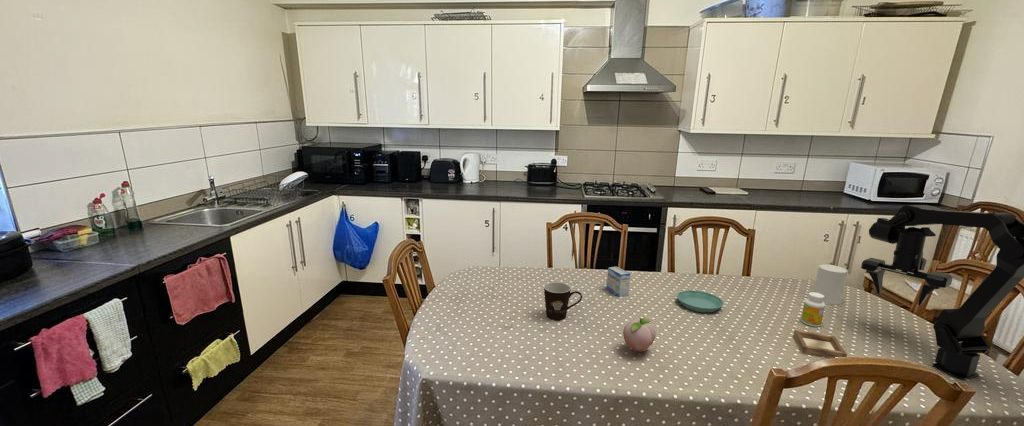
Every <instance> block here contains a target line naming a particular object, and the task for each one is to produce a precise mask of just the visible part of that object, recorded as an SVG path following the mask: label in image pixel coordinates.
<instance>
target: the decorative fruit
mask: <svg viewBox="0 0 1024 426" xmlns="http://www.w3.org/2000/svg"><path fill="white" fill-rule="evenodd" d="M651 322H652V320H651V319H649V318H648V317H640V319H637V318H635V319H632V320H630V321H628V322H627V323H626V324H625V325H624V327H623V329H622V335H623V340H624V342H625V343H626V345H627V347H628V348H630V349H631V350H633V351H636V352H639V353H640V352H644V351H646V350H648V349H649V348H650V346H652V345H653V343H654V341H655V339H656V338H657V331H656V328H655V327H654V325H653V324H652V323H651Z"/></svg>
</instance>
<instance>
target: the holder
mask: <svg viewBox="0 0 1024 426" xmlns="http://www.w3.org/2000/svg"><path fill="white" fill-rule="evenodd" d="M792 336H793V338H794V340H795V342H796V344H797V345H798V346H797V347H799V349H800V351H801V354H804V355H810V356H817V357H823V358H827V359H833V358H835V357H846V358H847V356H848V353H847V352H846V350H845V349H844V347H843V346H842V345H841V344H840V342H839V341H838V339H837V337H836V336H834V335H829V334H821V333H815V332H809V331H804V330H803V331H802V330H798V329H797V330H796V329H794V331H793V335H792Z"/></svg>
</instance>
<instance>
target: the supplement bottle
mask: <svg viewBox="0 0 1024 426" xmlns="http://www.w3.org/2000/svg"><path fill="white" fill-rule="evenodd" d="M823 300H824V295H822V294H820V293H816V292H814V291H811V292H809V293H808V296H807V298H806V299H805V300H804V302H803V307H802V313H801V318H800V320H801V322H802V323H803V324H804V325H807V326H810V327H815V328H817V327H821V326H822V323H823V319H824V313H825V309H826V303H824V302H823Z"/></svg>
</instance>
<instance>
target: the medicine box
mask: <svg viewBox="0 0 1024 426" xmlns="http://www.w3.org/2000/svg"><path fill="white" fill-rule="evenodd" d="M606 275H607V276H606V287H605V289H606V290H607V291H608V292H610V293H612V294H614V295H616V296H617V297H619V298H621V297H626V296H629V295H630V284H631V273H630V272H628V271H626V270H625V269H622V268H620V267H618V266H611V267H608V268H607V274H606Z"/></svg>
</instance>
